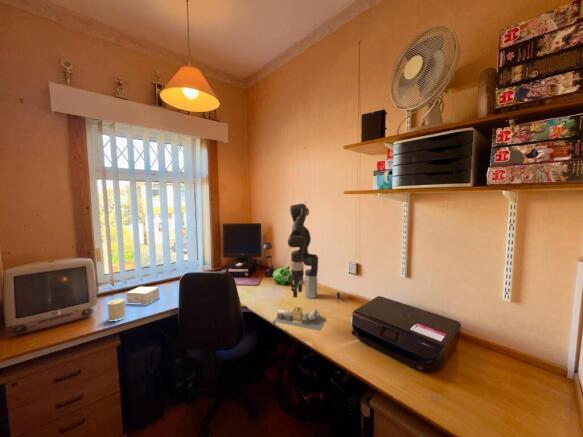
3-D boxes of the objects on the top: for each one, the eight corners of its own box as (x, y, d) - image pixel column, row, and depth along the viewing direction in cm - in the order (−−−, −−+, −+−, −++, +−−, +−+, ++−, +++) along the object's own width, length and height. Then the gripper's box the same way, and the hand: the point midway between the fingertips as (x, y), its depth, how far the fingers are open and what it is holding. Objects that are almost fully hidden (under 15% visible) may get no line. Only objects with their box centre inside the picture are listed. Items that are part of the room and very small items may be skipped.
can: (105, 320, 154) (103, 302, 153) (119, 314, 162) (118, 297, 161) (114, 323, 150) (113, 304, 149) (129, 316, 159) (128, 298, 158)
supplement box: (159, 298, 188) (159, 287, 187) (146, 306, 175) (146, 293, 174) (141, 297, 191) (140, 285, 190) (127, 304, 178) (126, 292, 177)
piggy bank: (286, 287, 206) (286, 270, 205) (269, 284, 216) (269, 267, 215) (295, 282, 218) (295, 266, 217) (279, 279, 228) (278, 264, 227)
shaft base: (283, 311, 162) (283, 303, 161) (327, 319, 150) (327, 310, 150) (272, 323, 147) (272, 314, 146) (320, 332, 136) (320, 322, 135)
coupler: (293, 321, 146) (293, 309, 146) (295, 317, 151) (295, 305, 150) (300, 322, 145) (299, 310, 144) (302, 318, 149) (302, 307, 148)
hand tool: (358, 338, 130) (359, 330, 129) (351, 337, 131) (351, 328, 131) (364, 322, 147) (364, 315, 146) (358, 321, 148) (358, 314, 148)
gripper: (295, 264, 153) (296, 289, 154) (286, 271, 140) (287, 298, 141) (306, 265, 150) (307, 290, 151) (299, 272, 137) (299, 299, 138)
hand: (297, 294), depth 146 cm, fingers open, 8 cm apart
